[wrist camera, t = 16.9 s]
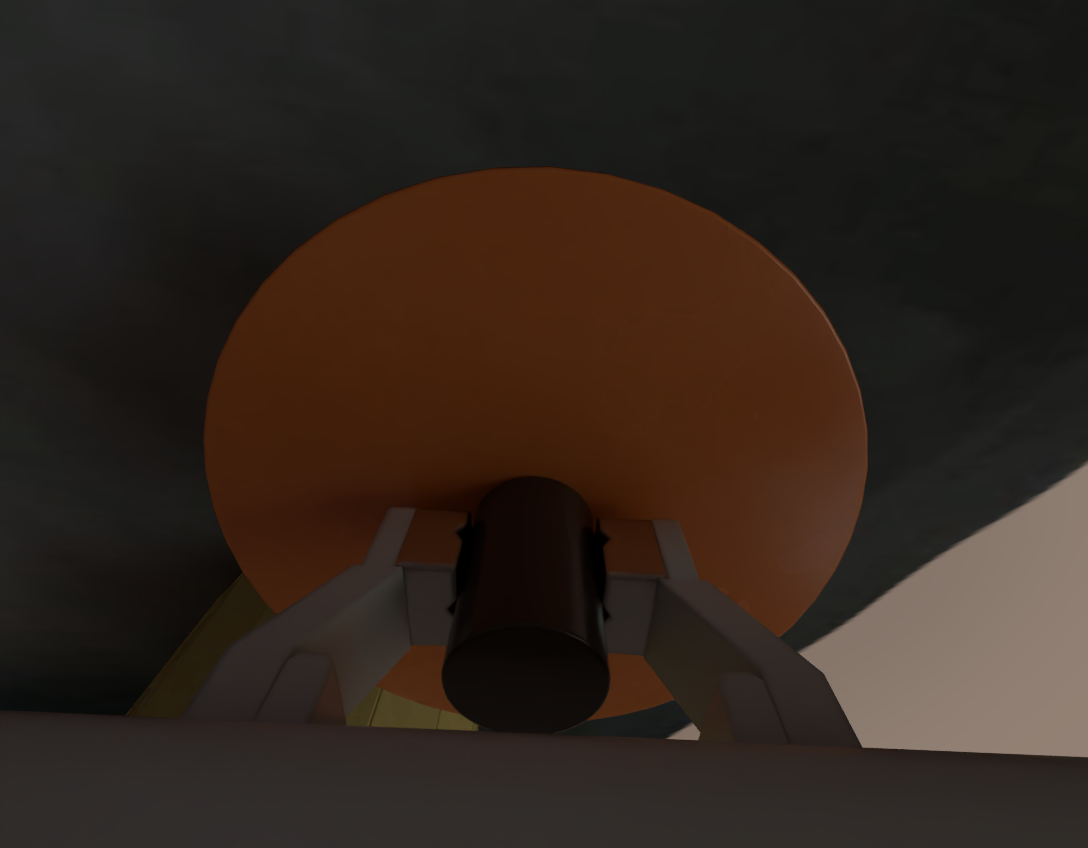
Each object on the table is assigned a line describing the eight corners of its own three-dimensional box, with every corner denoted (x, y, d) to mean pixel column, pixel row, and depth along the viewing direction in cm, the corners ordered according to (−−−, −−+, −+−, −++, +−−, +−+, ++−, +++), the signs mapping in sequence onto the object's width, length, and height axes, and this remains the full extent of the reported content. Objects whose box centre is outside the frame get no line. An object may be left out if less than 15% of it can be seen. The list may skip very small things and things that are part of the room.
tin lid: (156, 145, 8) (-243, 131, 4) (940, 185, 9) (1321, 213, 4) (294, 672, 14) (186, 887, 10) (756, 692, 15) (841, 913, 10)
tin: (187, 538, 21) (-115, 842, 11) (485, 552, 21) (428, 865, 11) (248, 728, 26) (76, 1043, 17) (486, 739, 26) (448, 1058, 17)
